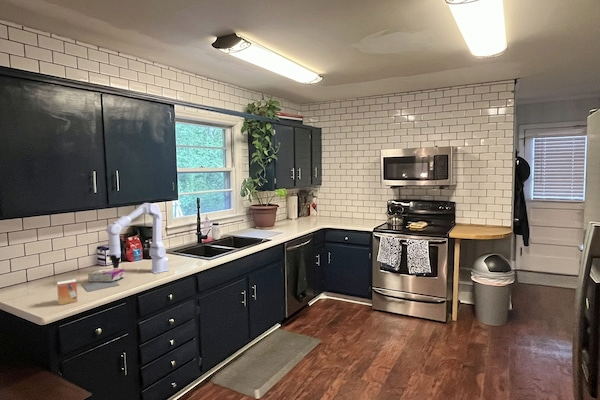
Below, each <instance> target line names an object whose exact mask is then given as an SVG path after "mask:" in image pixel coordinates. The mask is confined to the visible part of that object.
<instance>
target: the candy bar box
mask: <svg viewBox="0 0 600 400" xmlns="http://www.w3.org/2000/svg"><path fill="white" fill-rule="evenodd" d="M125 277H126V273H125V268H122V269H121V268H114V269H113V268H110V269H109V268H108V269H107V268H104V269H98V270H95V271H91V272H90V273H87V279H88V283H91V282H112V281H118V280H120V279H123V278H125Z"/></svg>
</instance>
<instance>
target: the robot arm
mask: <svg viewBox="0 0 600 400" xmlns="http://www.w3.org/2000/svg"><path fill="white" fill-rule="evenodd" d="M142 214H147V215H149V216H150V217H151V218H152V242H151V244H150V248H149V249H148V253H149V256H151V268H152V269H150V272H151V273H152V274H158V273H159V274H160V273H163V272H168V271H170V269H169V259H168V256H166V253H167V251H166V249H165V245H164V243H163V214H162V211H161V209H160V206H159V205H158V204H157V203H155V202H154V203H151V202H144V203H142V204H141V205H139V207H137V208H136V209H135V210H133V211H132V212H131V213H129V214H128V215H122V216H120V217H119V219H117V220H115V221H113V223H109V224H108V225H107V226H106V229H105V232H106V233H107V234H108V235H107V237H108V252H107V253H106V255H108V256H109V258H110V261H111V263H112V267H113V268H114V269H119V264H120V260H121V258H122V255H121V254H122V251H121V241H120V233H121V232H122V230H124V229H125V228H127V227H128V226H129V225H130V224H131V223H132V220H134V219H136V218H137V217H139V216H141V215H142Z"/></svg>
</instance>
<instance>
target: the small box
mask: <svg viewBox="0 0 600 400" xmlns="http://www.w3.org/2000/svg"><path fill="white" fill-rule="evenodd" d="M56 289H57V302H58V305H59V306H62V305H66V304H67V305H68V304H74V303H78V287H77V280H76V278H73V279H68V280H67V279H66V280H62V281H57V282H56Z"/></svg>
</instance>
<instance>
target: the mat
mask: <svg viewBox="0 0 600 400" xmlns="http://www.w3.org/2000/svg"><path fill="white" fill-rule="evenodd" d="M81 285H82V287H83V288H84V289H85V292H87V293H88V292H93V291H98V290H103V289H104V290H105V289H108V288H113V287H114V288H115V287H119V286H120V284H119V282H117V280H115V281H112V282H85V283H82V284H81Z"/></svg>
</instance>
